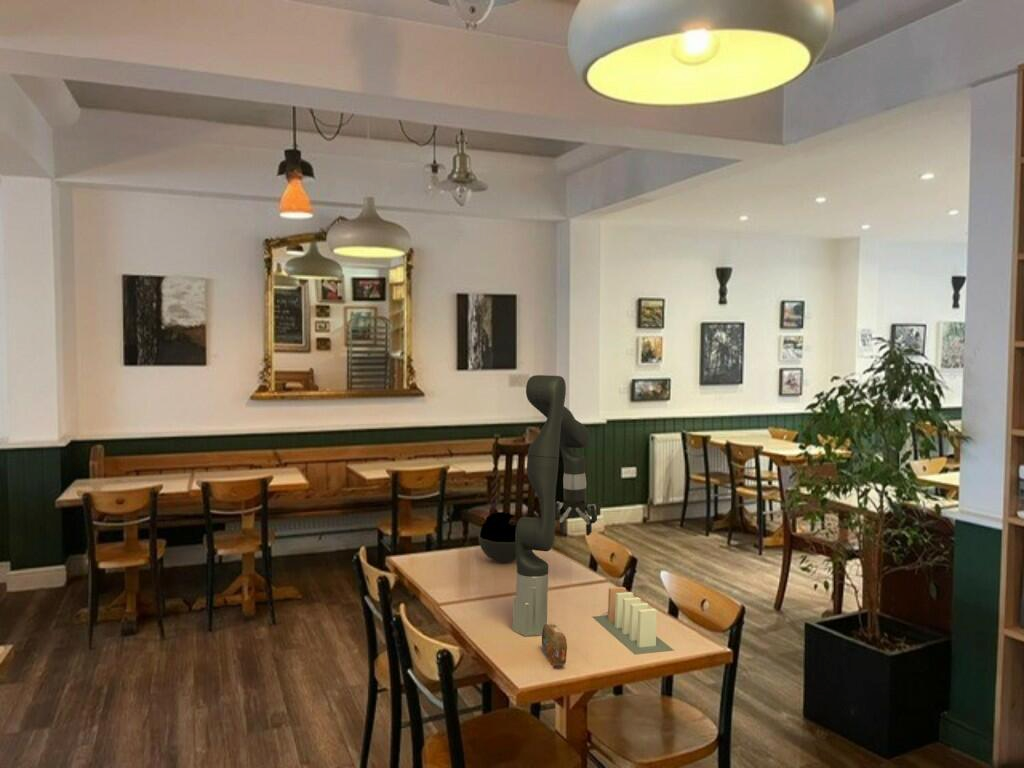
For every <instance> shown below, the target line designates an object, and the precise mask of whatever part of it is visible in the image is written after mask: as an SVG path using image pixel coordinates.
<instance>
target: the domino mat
mask: <svg viewBox="0 0 1024 768" xmlns="http://www.w3.org/2000/svg"><path fill="white" fill-rule="evenodd" d="M592 618H593V619H594V620H595V621H596V622H597V623H598V624H599V625H600V626H602V627H603V628H604V629H605V630H606V631H607V632H609V634H611V635H612V636H613V637H614V638H615V639H616V640H617V641H619V643H620V644H621V645H623V646H624V647H625V648H626V649H628V650H629V651H630V652H631V653H632V654H633V655H644V654H655V653H663V652H664V653H665V652H672V651H673V652H674V651H675V649H673V648H672V647H671V646H669V645H668V644H667V643H666V642H665V641H663V640H662V639H661V638H659V637H658V636H657V635H656V646H648V647H639V646H637V640H633V641H631V640H630V639H629V634H623V633H622V628H616V627H615V622H609V621H608V614H607V615H595V616H592Z"/></svg>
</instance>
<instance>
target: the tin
mask: <svg viewBox="0 0 1024 768" xmlns="http://www.w3.org/2000/svg"><path fill="white" fill-rule="evenodd" d="M541 648H542V652H543V653H542V654H544V656H545V658H546V659H547V660H548V661H549V663H550V665H551V666H552V667H564V665H565V664H566V661H567V651H568V643H567V639H566V636H565V634H564V633H563V632H562V631H561V629H560V628H559V627H558V626H557V625H556V624H551V623H550V624H549V623H547V624H545V625H544V627H543V631H542V634H541Z"/></svg>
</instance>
